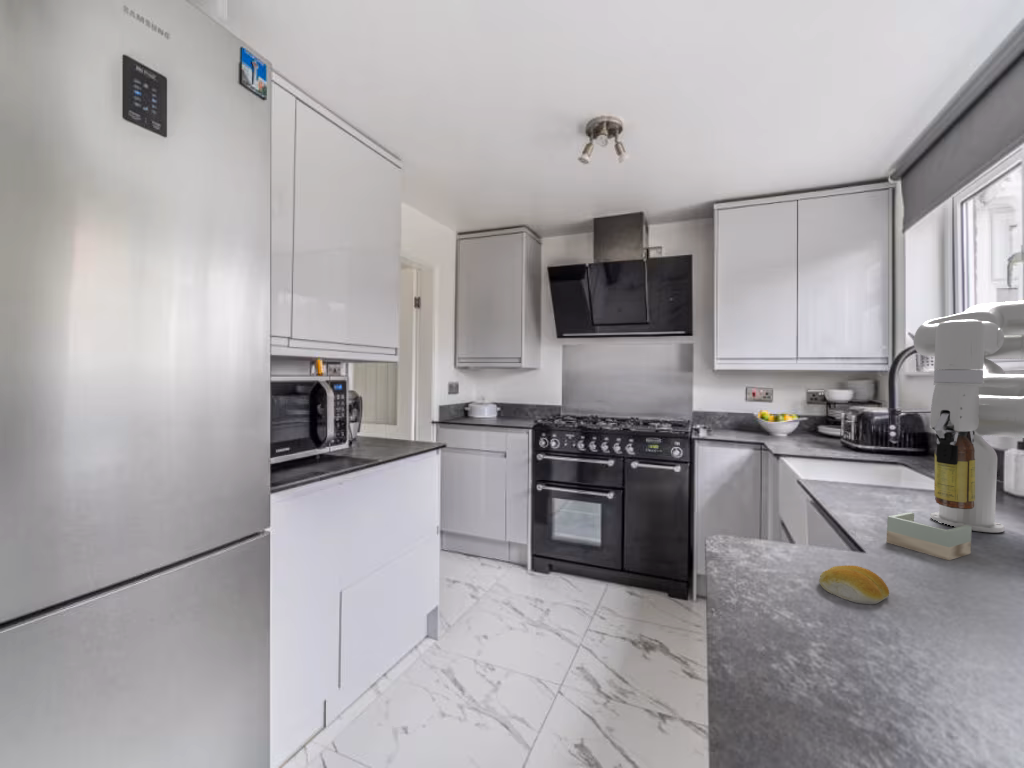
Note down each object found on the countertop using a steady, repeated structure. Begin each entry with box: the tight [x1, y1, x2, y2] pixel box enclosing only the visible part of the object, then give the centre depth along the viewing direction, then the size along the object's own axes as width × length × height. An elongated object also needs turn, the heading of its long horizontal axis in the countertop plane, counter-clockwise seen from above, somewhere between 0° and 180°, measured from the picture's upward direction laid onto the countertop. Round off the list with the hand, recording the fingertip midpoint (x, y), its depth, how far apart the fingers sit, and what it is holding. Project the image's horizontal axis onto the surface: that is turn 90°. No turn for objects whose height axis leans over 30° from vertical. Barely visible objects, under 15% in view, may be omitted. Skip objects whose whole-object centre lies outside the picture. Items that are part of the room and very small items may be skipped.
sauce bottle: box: [933, 428, 975, 509], centre depth 96 cm, size 6×6×20 cm
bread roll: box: [818, 565, 890, 605], centre depth 71 cm, size 8×9×4 cm
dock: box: [886, 511, 973, 561], centre depth 91 cm, size 9×10×6 cm
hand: (954, 461), depth 96 cm, fingers closed on sauce bottle, 6 cm apart
